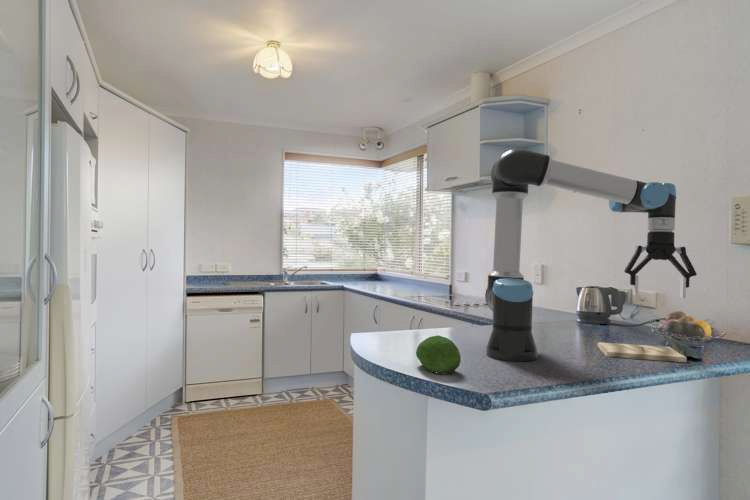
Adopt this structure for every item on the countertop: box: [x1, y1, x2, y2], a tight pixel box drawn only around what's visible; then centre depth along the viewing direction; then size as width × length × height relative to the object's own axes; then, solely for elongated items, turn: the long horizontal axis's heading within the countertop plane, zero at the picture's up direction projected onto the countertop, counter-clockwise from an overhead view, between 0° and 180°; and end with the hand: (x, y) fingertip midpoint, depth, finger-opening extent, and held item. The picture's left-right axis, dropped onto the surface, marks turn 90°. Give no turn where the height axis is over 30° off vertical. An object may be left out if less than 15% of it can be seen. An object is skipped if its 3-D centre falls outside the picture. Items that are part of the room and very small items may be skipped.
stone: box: [664, 334, 701, 359], centre depth 149 cm, size 11×4×10 cm
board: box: [597, 341, 688, 363], centre depth 153 cm, size 22×16×2 cm
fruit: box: [415, 335, 462, 374], centre depth 126 cm, size 15×10×10 cm, turn 22°
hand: (658, 296), depth 153 cm, fingers open, 13 cm apart
